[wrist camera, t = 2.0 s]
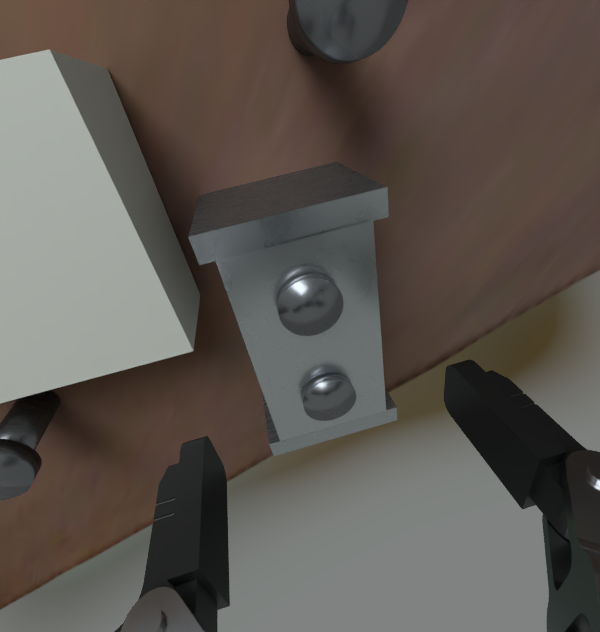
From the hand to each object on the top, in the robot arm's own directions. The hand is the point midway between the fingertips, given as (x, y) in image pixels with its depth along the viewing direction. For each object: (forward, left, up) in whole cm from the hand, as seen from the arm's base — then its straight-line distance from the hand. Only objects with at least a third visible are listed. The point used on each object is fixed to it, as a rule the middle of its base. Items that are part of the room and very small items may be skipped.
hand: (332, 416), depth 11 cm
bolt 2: (-3, -11, -9) cm, 15 cm away
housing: (0, 0, -10) cm, 10 cm away
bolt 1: (+16, +3, -9) cm, 19 cm away
